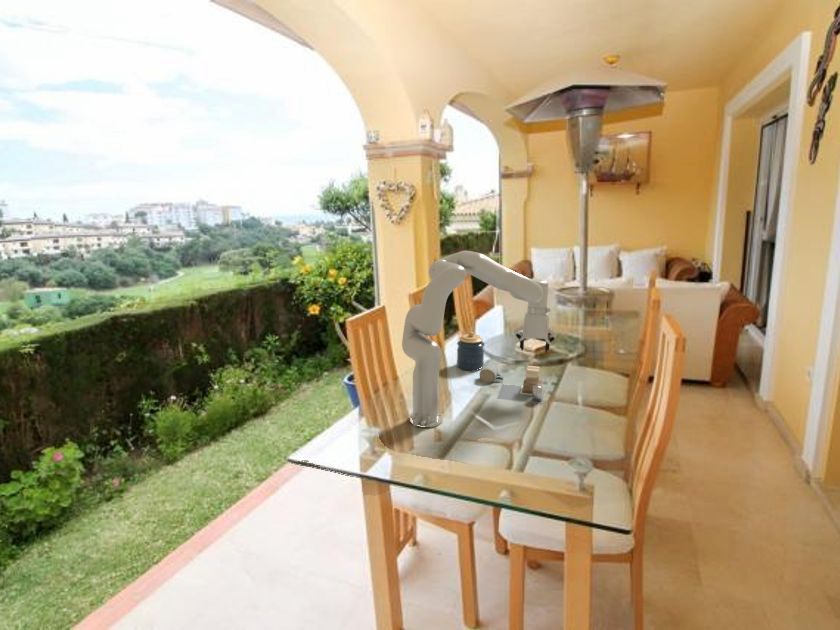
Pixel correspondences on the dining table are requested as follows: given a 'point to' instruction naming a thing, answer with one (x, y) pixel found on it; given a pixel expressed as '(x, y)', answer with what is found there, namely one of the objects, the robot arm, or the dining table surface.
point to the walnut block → (529, 386)
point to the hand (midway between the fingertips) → (534, 350)
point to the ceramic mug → (489, 372)
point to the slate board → (515, 394)
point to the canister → (470, 352)
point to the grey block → (537, 393)
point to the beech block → (532, 375)
